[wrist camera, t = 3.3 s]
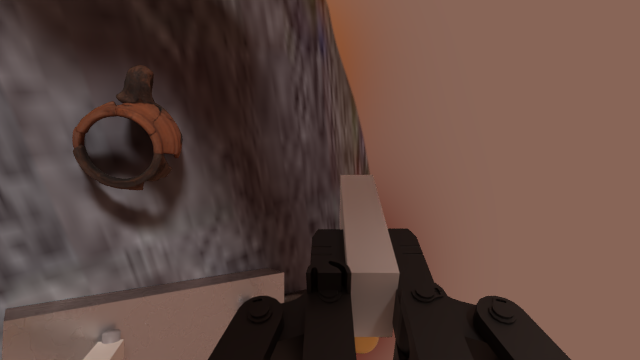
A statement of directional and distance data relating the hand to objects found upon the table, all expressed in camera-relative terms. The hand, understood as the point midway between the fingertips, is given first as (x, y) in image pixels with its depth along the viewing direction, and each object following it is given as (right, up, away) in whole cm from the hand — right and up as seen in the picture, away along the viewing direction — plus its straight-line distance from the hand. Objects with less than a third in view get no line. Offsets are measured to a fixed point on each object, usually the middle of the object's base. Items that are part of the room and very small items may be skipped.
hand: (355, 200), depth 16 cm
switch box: (-16, -15, +23) cm, 32 cm away
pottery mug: (-22, +6, +20) cm, 30 cm away
